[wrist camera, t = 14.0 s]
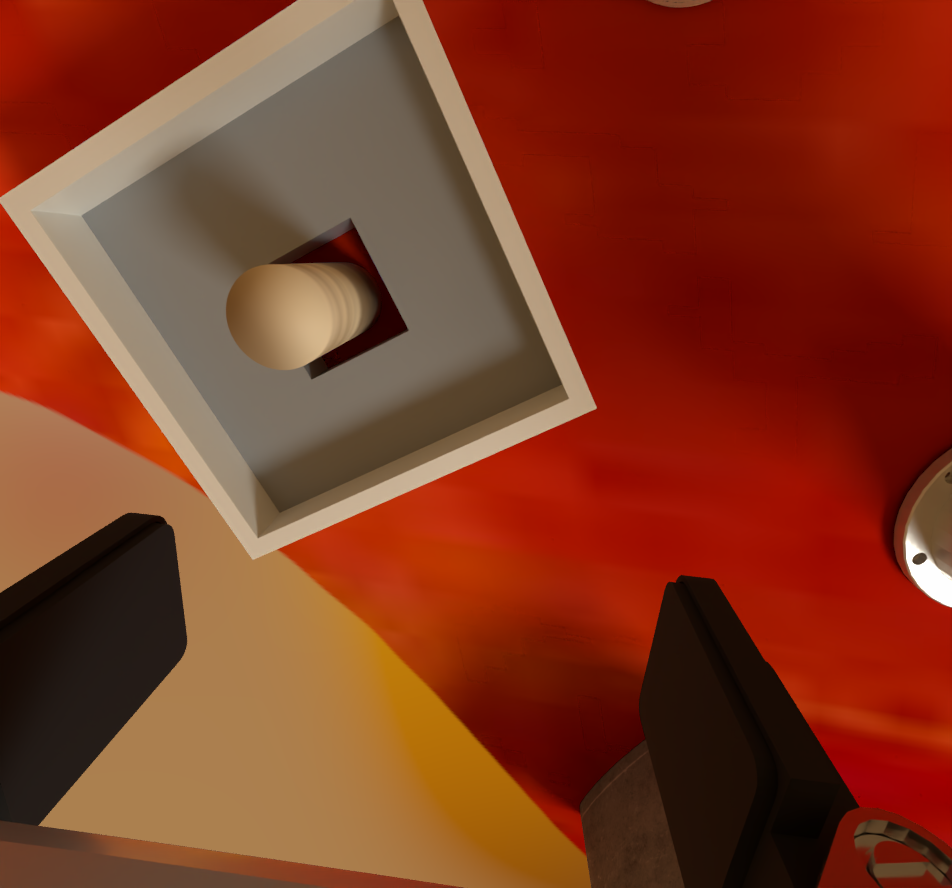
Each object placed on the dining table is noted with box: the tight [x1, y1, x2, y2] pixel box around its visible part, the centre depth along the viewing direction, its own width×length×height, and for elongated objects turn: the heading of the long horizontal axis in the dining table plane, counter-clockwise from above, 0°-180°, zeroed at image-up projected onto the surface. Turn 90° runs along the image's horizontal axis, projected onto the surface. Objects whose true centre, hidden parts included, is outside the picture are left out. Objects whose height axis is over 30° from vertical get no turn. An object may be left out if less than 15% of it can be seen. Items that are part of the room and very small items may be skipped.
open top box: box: [0, 0, 597, 560], centre depth 27 cm, size 20×20×6 cm
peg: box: [226, 262, 382, 370], centre depth 25 cm, size 4×4×10 cm
